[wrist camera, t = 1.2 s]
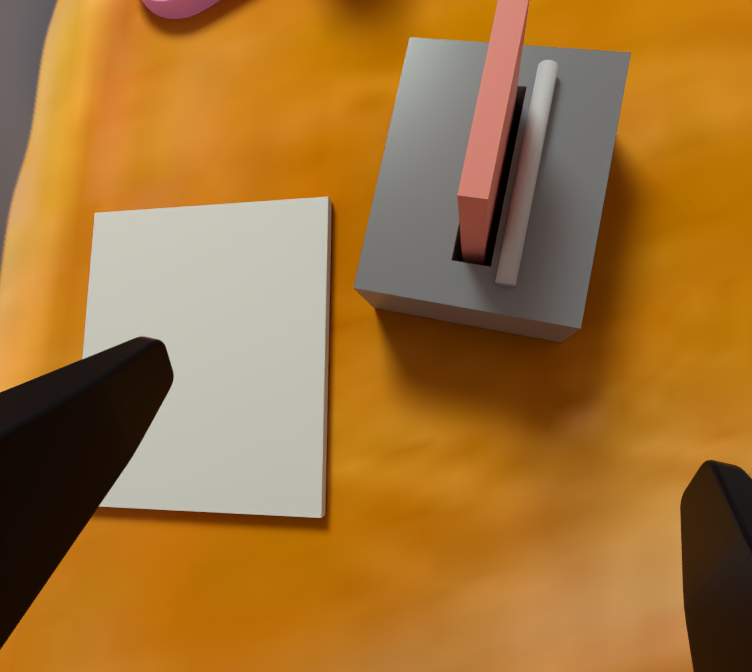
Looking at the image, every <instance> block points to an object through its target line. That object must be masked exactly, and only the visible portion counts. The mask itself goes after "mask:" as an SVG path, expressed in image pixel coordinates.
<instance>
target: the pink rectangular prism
mask: <svg viewBox="0 0 752 672" xmlns="http://www.w3.org/2000/svg"><path fill="white" fill-rule="evenodd" d="M528 6H529V0H498V3H497V7H496V12H495V17H494V22H493V27H492V31H491V36H490V41H489V46H488V50H487V55H486V60H485V65H484V70H483V74H482V79H481V84H480V89H479V94H478V98H477V103H476V108H475V113H474V118H473V122H472V127H471V132H470V137H469V141H468V146H467V151H466V156H465V161H464V165H463V170H462V175H461V180H460V185H459V189H458V194H457V198H458V211H459V223H460V236H461V248H462V261H463V262H465V263H471V264H477V265H483V266H486V261H487V256H488V251H489V246H490V241H491V236H492V231H493V226H494V221H495V216H496V211H497V206H498V201H499V196H500V191H501V186H502V182H503V177H504V172H505V167H506V162H507V157H508V152H509V145H510V138H511V130H512V123H513V116H514V108H515V101H516V94H517V87H518V79H519V72H520V65H521V57H522V50H523V43H524V35H525V28H526V21H527V13H528Z"/></svg>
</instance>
